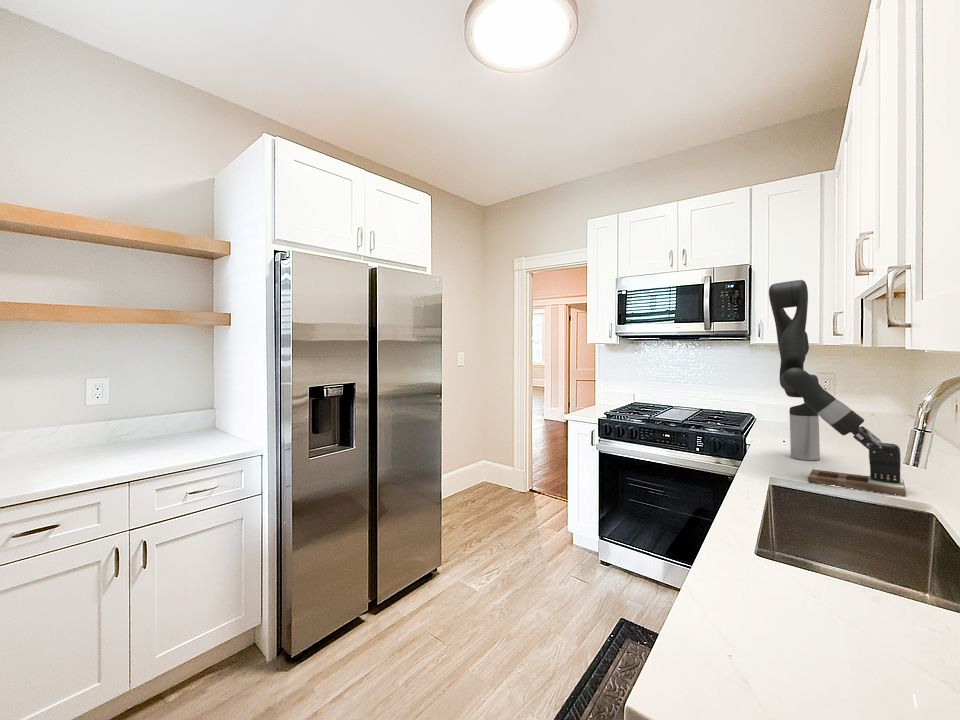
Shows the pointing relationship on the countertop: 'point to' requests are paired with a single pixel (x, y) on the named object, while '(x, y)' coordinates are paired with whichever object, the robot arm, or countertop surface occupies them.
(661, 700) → the countertop surface
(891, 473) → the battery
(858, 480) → the board
